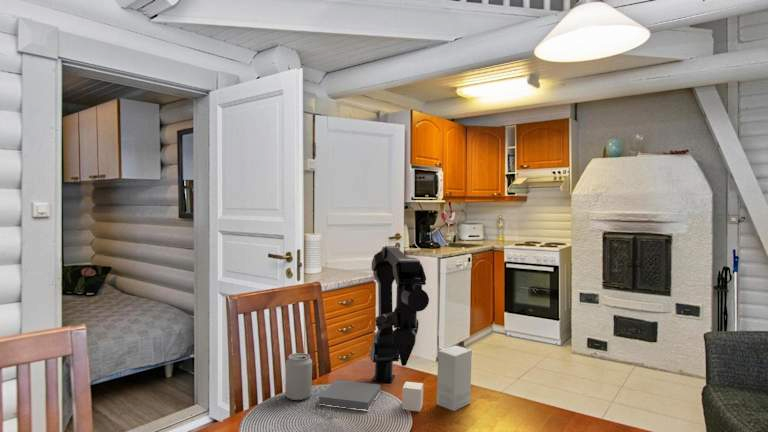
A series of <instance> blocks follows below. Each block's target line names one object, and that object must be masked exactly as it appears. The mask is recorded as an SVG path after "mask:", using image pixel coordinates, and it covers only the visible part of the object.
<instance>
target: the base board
mask: <svg viewBox="0 0 768 432" xmlns="http://www.w3.org/2000/svg"><path fill="white" fill-rule="evenodd" d="M381 387H382V386H381V384H376V383H369V382H368V383H367V382H359V381H352V380H341V379H335V380H334V381H333V382H332V384H331V385H329V386H328V387H327V388H326V389H325V390H324V391H323V392H322V393H321V394H320V395H319V396H318V405H319V404H325V405H332V406H339V407H346V408H356V409H366V410H368V409H369V407H370V406H371V404H372V402H373V401H374V399H375V398H376V396H377V395H378V393H379V392H380V393H381ZM371 407H372V406H371ZM369 410H370V409H369Z"/></svg>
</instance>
